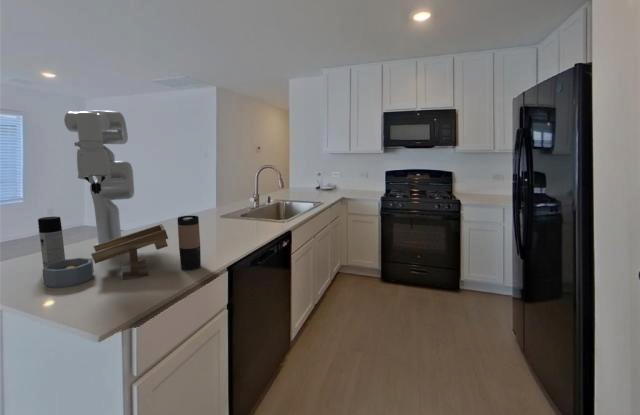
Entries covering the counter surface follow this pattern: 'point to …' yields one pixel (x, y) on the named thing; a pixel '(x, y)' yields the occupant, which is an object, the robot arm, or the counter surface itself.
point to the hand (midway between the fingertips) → (96, 193)
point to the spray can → (51, 239)
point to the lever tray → (130, 243)
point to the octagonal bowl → (68, 272)
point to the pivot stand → (134, 267)
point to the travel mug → (189, 242)
